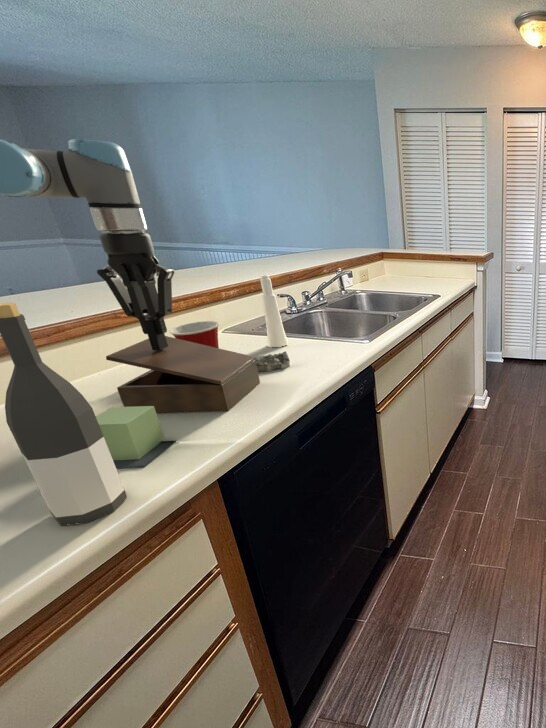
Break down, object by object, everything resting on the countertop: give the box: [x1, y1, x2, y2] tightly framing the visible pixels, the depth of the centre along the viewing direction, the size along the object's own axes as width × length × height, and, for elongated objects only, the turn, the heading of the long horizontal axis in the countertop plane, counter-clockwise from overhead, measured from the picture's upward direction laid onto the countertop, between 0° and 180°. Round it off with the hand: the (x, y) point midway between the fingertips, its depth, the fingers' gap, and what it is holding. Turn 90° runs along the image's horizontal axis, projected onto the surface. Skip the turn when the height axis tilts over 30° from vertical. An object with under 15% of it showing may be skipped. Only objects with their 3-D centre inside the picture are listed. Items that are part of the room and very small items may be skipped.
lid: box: [105, 335, 255, 385], centre depth 92 cm, size 21×16×1 cm
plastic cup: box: [169, 320, 220, 349], centre depth 113 cm, size 11×11×12 cm
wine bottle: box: [0, 302, 128, 527], centre depth 56 cm, size 8×8×30 cm
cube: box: [95, 406, 165, 460], centre depth 74 cm, size 7×7×7 cm
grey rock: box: [252, 351, 291, 373], centre depth 114 cm, size 11×8×4 cm
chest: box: [116, 360, 261, 414], centre depth 95 cm, size 20×16×7 cm
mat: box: [113, 440, 177, 470], centre depth 76 cm, size 11×11×1 cm
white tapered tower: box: [259, 274, 290, 348], centre depth 131 cm, size 6×6×22 cm
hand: (160, 348), depth 91 cm, fingers closed
